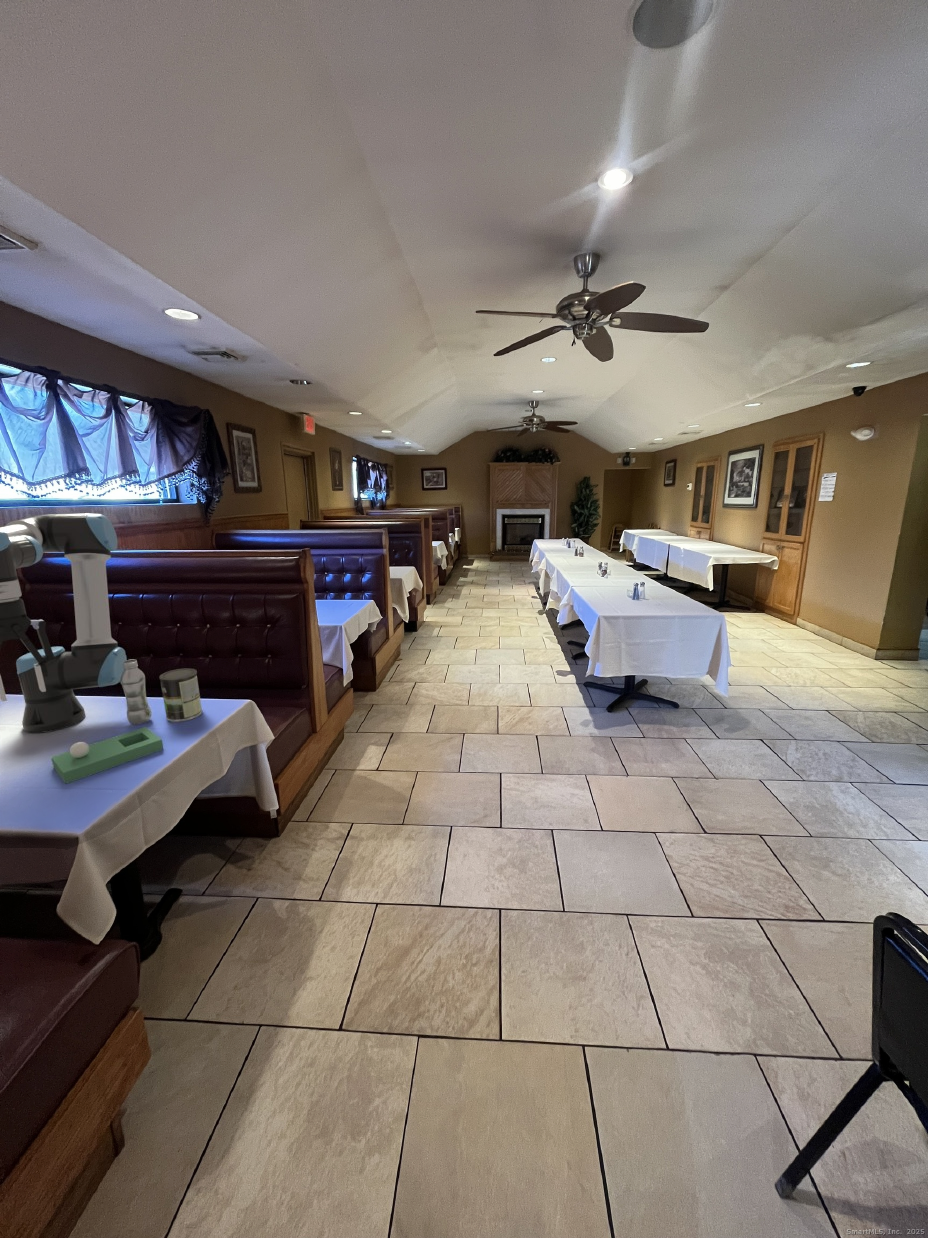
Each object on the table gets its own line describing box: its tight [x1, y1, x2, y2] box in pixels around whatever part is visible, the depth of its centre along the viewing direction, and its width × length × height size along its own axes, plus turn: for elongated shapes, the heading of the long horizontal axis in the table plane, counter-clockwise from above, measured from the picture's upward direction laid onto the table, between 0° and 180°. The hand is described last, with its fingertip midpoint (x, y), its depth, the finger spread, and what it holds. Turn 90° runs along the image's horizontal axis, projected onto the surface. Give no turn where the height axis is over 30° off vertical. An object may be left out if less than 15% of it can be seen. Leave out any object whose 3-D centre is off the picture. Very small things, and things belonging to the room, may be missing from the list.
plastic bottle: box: [120, 659, 152, 725], centre depth 152 cm, size 6×7×20 cm
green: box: [50, 726, 164, 785], centre depth 133 cm, size 12×22×3 cm, turn 140°
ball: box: [69, 741, 89, 758], centre depth 128 cm, size 4×4×4 cm
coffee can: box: [158, 667, 203, 723], centre depth 158 cm, size 10×10×14 cm
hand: (23, 694), depth 118 cm, fingers open, 6 cm apart
